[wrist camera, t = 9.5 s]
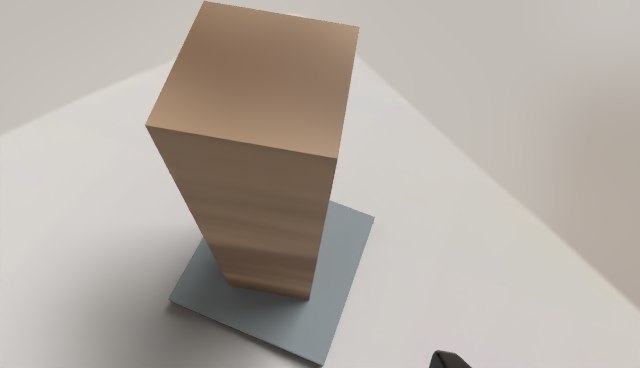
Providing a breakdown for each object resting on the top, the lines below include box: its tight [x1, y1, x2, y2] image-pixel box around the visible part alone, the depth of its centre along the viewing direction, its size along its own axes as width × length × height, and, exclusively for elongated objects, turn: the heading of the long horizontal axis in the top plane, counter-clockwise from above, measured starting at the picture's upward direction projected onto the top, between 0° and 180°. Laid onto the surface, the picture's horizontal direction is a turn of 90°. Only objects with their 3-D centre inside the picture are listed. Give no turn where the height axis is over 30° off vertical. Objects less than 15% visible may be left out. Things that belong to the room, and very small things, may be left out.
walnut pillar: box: [145, 1, 359, 300], centre depth 15 cm, size 4×4×13 cm
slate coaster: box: [169, 200, 375, 366], centre depth 21 cm, size 8×8×1 cm
